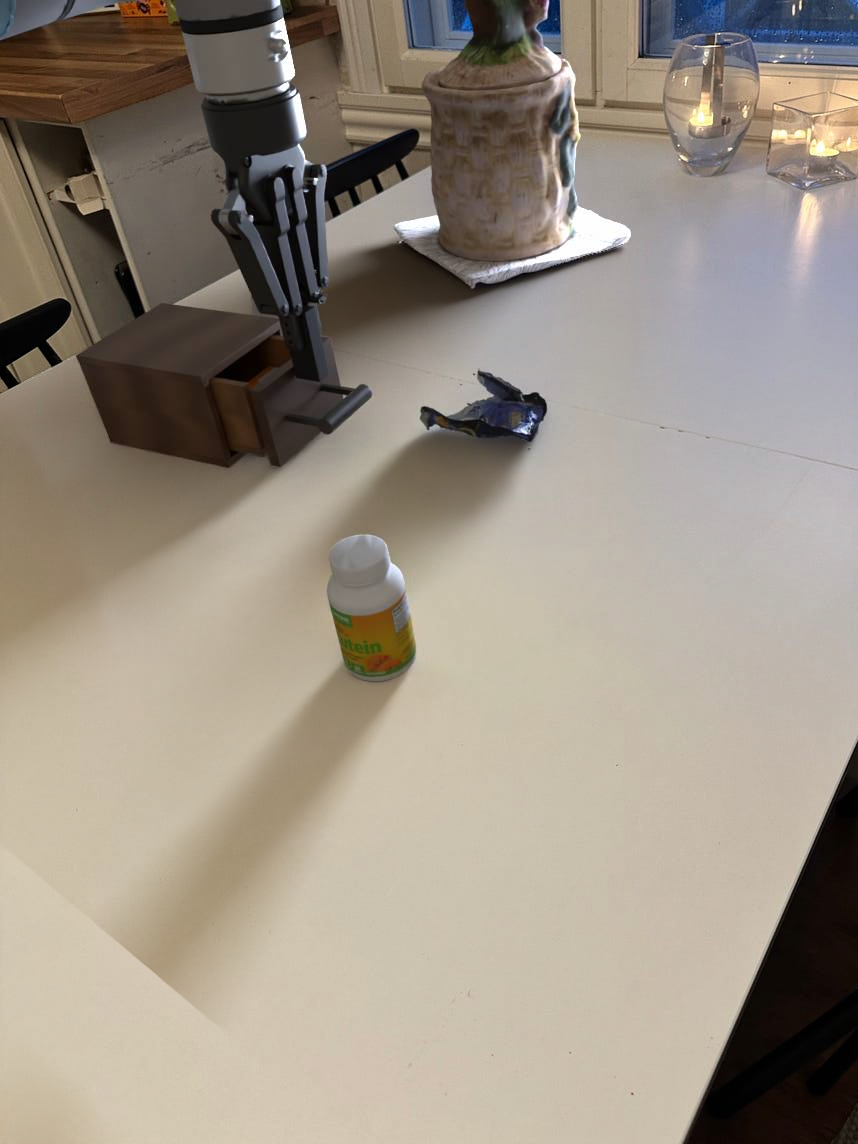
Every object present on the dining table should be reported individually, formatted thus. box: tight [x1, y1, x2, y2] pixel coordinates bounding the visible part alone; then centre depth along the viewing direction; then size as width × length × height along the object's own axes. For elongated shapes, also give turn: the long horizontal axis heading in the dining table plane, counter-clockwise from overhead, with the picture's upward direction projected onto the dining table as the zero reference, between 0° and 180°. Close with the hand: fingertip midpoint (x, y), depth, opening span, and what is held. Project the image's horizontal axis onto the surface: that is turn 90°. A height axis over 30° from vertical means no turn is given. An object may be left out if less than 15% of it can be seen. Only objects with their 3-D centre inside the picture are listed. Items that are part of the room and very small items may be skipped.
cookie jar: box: [393, 0, 631, 289], centre depth 120 cm, size 25×25×32 cm
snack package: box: [419, 369, 548, 451], centre depth 92 cm, size 12×6×12 cm
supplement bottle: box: [326, 534, 418, 682], centre depth 67 cm, size 5×5×10 cm
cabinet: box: [75, 302, 283, 469], centre depth 96 cm, size 16×13×10 cm
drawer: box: [208, 335, 373, 469], centre depth 93 cm, size 20×11×8 cm, turn 63°
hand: (312, 376), depth 88 cm, fingers closed
